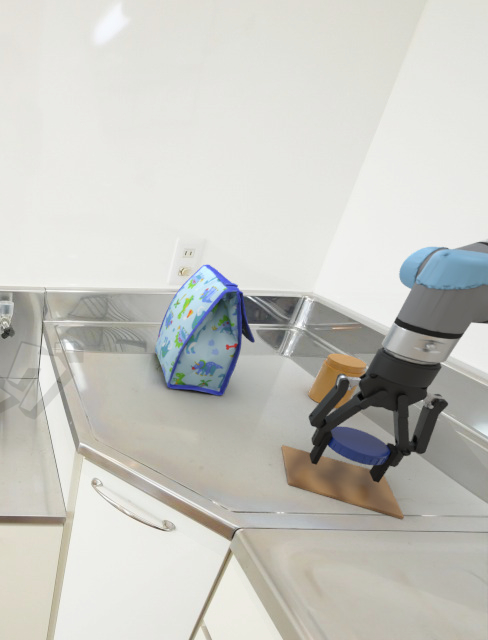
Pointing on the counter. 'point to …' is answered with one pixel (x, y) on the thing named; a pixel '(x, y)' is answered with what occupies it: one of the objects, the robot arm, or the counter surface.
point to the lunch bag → (203, 333)
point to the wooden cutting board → (339, 481)
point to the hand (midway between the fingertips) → (342, 468)
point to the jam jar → (329, 374)
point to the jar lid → (358, 446)
